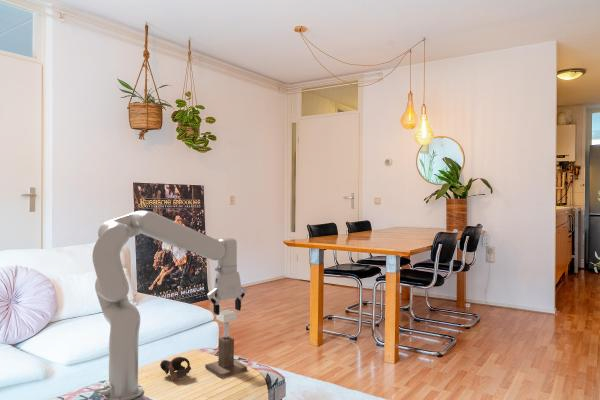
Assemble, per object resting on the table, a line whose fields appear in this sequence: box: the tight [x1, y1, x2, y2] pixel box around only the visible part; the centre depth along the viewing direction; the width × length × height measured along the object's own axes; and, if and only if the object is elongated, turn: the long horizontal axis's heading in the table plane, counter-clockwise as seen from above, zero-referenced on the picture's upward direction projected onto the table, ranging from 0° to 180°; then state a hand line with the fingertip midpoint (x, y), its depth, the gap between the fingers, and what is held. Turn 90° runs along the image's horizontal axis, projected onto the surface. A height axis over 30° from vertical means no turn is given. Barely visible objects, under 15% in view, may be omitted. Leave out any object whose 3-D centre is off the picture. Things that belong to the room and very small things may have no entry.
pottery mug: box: [159, 356, 192, 382], centre depth 168 cm, size 12×10×8 cm
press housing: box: [204, 335, 248, 379], centre depth 175 cm, size 12×12×12 cm
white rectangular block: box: [215, 308, 238, 340], centre depth 175 cm, size 6×6×15 cm
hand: (227, 312), depth 175 cm, fingers open, 9 cm apart
